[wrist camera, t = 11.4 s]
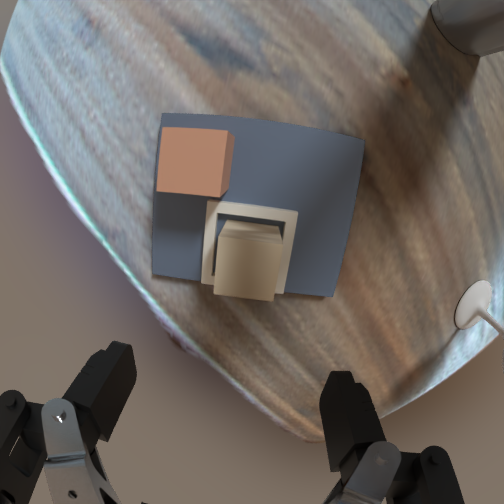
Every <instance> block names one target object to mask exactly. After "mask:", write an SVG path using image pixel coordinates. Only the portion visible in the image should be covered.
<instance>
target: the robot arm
mask: <svg viewBox="0 0 504 504" xmlns="http://www.w3.org/2000/svg"><path fill="white" fill-rule="evenodd" d="M431 12H432V16H433V18H434V21H435V23H436V25H437V26H438V28H439V30H440V31H441V32H442V34H443V35H444V36H445V38H446V39H447V40H448V41H449V42H450V43H451V44H452V45H453V46H454V47H456V48H457V49H458V50H460V51H461V52H463V53H465V54H468V55H475V54H477V55H478V56H480V57H482V56H486V55H489V54H493V53H496V52H500V51H504V0H436V1H435V2H434V3H433V4H432V7H431ZM136 377H137V371H136V365H135V360H134V355H133V350H132V346H131V345H129V344H125V343H121V342H117V341H112V343H111V344H110V345H109V347H108V348H107V349H106V351H105V350H99V351H98V352H96V353H95V354H93V355H92V356H91V357H90V358H89V360H88V361H87V363H86V365H85V366H84V367H83V368H82V370H81V372H80V373H79V374H78V375H77V377H76V378H75V380H74V381H73V383H72V384H71V385H70V387H69V388H68V390H67V391H66V393H65V394H64V396H63V397H62V398H55V399H52V400H50V401H48V402H47V403H46V404H38V403H33V402H27V401H26V399H25V398H24V396H23V395H22V394H21V393H20V392H19V391H16V390H8V391H6V392H4V393H3V394H2V395H1V396H0V504H28V503H29V501H30V498H31V496H32V493H33V490H34V488H35V485H36V482H37V480H38V478H39V475H40V473H41V470H42V468H43V466H44V469H45V474H46V478H47V483H48V486H49V490H50V494H51V497H52V500H53V503H54V504H121V502H120V500H119V498H118V496H117V494H116V492H115V491H114V489H113V488H112V486H111V484H110V482H109V479H108V477H107V474H106V472H105V469H104V467H103V464H102V462H101V458H100V456H99V453H98V450H97V447H96V444H97V441H98V439H100V440H103V441H106V442H108V441H109V438H110V436H111V434H112V432H113V429H114V427H115V425H116V423H117V421H118V418H119V416H120V414H121V412H122V410H123V408H124V406H125V403H126V401H127V399H128V397H129V395H130V393H131V391H132V389H133V387H134V385H135V382H136ZM319 408H320V413H321V419H322V424H323V430H324V435H325V441H326V446H327V452H328V458H329V464H330V470H331V472H339V471H340V472H341V478H340V479H339V481H338V482H337V484H336V485H335V487H334V488H333V489H332V491H331V492H330V494H329V495H328V496H327V498H326V499H325V500H324V502H323V503H322V504H381V503H382V501H383V499H384V497H386V501H387V504H465V503H464V500H463V496H462V493H461V490H460V487H459V484H458V481H457V478H456V475H455V472H454V469H453V466H452V463H451V461H450V458H449V456H448V453H447V452H446V451H445V450H444V449H443V448H441V447H439V446H429V447H427V448H426V449H424V450H423V451H422V452H421V453H408V452H401V451H399V449H398V448H397V447H396V446H395V445H394V444H392V443H390V442H387V441H386V438H385V435H384V433H383V430H382V427H381V424H380V421H379V418H378V416H377V413H376V411H375V407H374V405H373V403H372V399H371V397H370V394H369V391H368V390H367V389H366V388H365V387H364V386H363V385H362V384H361V383H355V381H354V378H353V376H352V373H351V372H350V371H331V372H330V374H329V377H328V379H327V382H326V384H325V386H324V389H323V391H322V393H321V396H320V402H319ZM18 437H19V439H18V441H17V443H16V445H15V446H14V444H15V442H16V440H17V438H18ZM13 446H14V448H13ZM12 448H13V450H12ZM11 450H12V452H11ZM10 452H11V454H10ZM9 455H10V456H9ZM47 457H48V460H46V459H47ZM141 504H146V503H143V502H142V503H141Z"/></svg>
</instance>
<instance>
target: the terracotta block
mask: <svg viewBox="0 0 504 504" xmlns="http://www.w3.org/2000/svg"><path fill="white" fill-rule="evenodd" d="M234 141H235V137H234V136H233V135H232V134H231V133H230V132H229V131H227V130H215V129H200V128H179V127H163V128H162V136H161V144H160V154H159V165H158V177H157V191H160V192H172V193H183V194H193V195H203V196H212V197H221V196H222V195H223V194H224V193H225V192H226V191H227V190H228V189H229V181H230V173H231V165H232V157H233V149H234Z"/></svg>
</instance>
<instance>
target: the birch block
mask: <svg viewBox="0 0 504 504" xmlns="http://www.w3.org/2000/svg"><path fill="white" fill-rule="evenodd" d="M282 250H283V241H282V238H281V234H280V231H279V227H278V226H275V225H267V224H260V223H252V222H244V221H237V220H229V219H227V221H226V223H225V225H224V226H223V228H222V230H221V232H220V234H219V236H218V246H217V257H216V269H215V281H214V294H217V295H225V296H232V297H240V298H247V299H255V300H264V301H272V302H273V300H274V295H275V289H276V284H277V278H278V273H279V267H280V262H281V256H282Z"/></svg>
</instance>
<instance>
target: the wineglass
mask: <svg viewBox="0 0 504 504" xmlns="http://www.w3.org/2000/svg"><path fill="white" fill-rule="evenodd" d="M491 296H492V289H491V285H490V284H489V282H487V281H485V280H481V281H478V282H476V283H474V284H473V285H472V286H471V287H470V288H469V289H468V290H467V291H466V292H465V293H464V295H463V296H462V298H461V300H460V302H459V304H458V306H457V309H456V314H455V322H456V325H457V327H458V328H460V329H468V328H470V327H472V326H474V325H475V324H476V323H477V322H479V320H480V319H481V318H483V319H484V320H486V321H487V322H488V323H489V324H491V325H492V326H493V327H494V328H495V329H496V330H497V331H498V332H499V333H500V335H501V336H502V337H503V339H504V328H503V327H502V326H501V325H500V324H499V323H498V322H497V321H496V320H495V319H494V318H493V317H492V316H491V315H490V314H489V313H488V312H487V309H488V307H489V304H490V301H491ZM502 368H503V373H504V350H503V355H502Z"/></svg>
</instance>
